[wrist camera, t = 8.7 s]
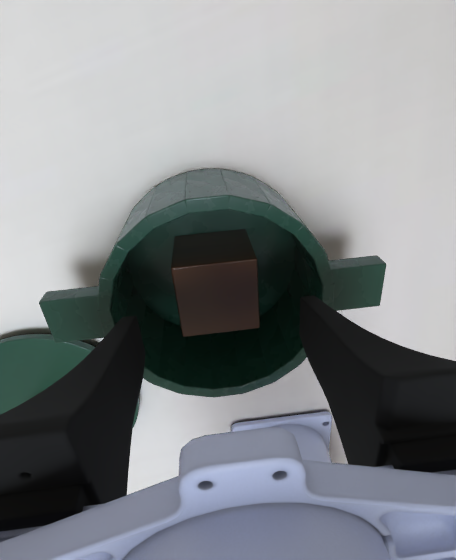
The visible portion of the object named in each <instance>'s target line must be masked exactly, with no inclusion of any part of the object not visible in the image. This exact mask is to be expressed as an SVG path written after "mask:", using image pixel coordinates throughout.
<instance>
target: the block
mask: <svg viewBox="0 0 456 560" xmlns="http://www.w3.org/2000/svg"><path fill="white" fill-rule="evenodd" d="M171 273H172V278H173V284H174V290H175V295H176V301H177V307H178V313H179V318H180V324H181V330H182V335H183V337H187V336H195V335H204V334H212V333H221V332H229V331H238V330H247V329H255V328H259V327H260V317H259V292H258V267H257V258H256V255H255V252H254V250H253V247H252V245H251V242H250V239H249V237H248V234H247V231H246V229H240V230H230V231H221V232H211V233H201V234H192V235H182V236H175V238H174V247H173V255H172V264H171Z"/></svg>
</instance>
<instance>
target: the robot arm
mask: <svg viewBox="0 0 456 560" xmlns="http://www.w3.org/2000/svg"><path fill="white" fill-rule="evenodd" d="M299 335H300V338H301V341H302V345H303V348H304V351H305V354H306V356H307V358H308V360H309V362H310V364H311V366H312V369H313V371H314V373H315V375H316V377H317V379H318V381H319V383H320V385H321V387H322V389H323V391H324V394H325V396H326V398H327V401H328V403H329V406H330V409H331V412H332V415H333V418H334V420H335V423H336V426H337V429H338V432H339V435H340V439H341V442H342V445H343V448H344V451H345V455H346V458H347V461H348V464H339V463H332V461H331V459H330V456H329V443H330V433H331V423H332V416H331V414H330V413H329V412H317V413H309V414H301V415H293V416H286V417H278V418H270V419H262V420H254V421H246V422H239V423H235V424H233V425H232V426H231V431H232V432H228V433H220V434H212V435H205V436H202V437H198V438H195V439H192V440H191V441H189V442H188V443H187V444H186V445H185V446H184V447H183V448H182V449H181V453H180V459H179V476H177V477H175V478H172V479H169V480H167V481H164V482H161V483H158V484H156V485H153V486H150V487H148V488H145V489H142V490H140V491H137V492H134V493H132V494H129V495H127V481H128V468H129V456H130V446H131V436H132V427H133V421H134V416H135V411H136V407H137V402H138V398H139V393H140V389H141V384H142V379H143V374H144V365H145V349H144V345H143V340H142V336H141V332H140V328H139V324H138V320H137V316H128V317H122V318H121V319H120V320H119V321H118V322H117V324H116V325H115V326H114V327H113V328H112V329H111V331H110V332H109V333H108V334H107V335H106V336H105V337H104V339H103V340H102V341H101V342H100V343H99V344H98V345H97V346H96V347H95V348H94V349H93V350H92V351H91V352H90V353H89V354H88V355H87V356H86V357H85V358H84V359H83V360H82V361H81V362H80V363H79V364H78V365H77V366H75V367H74V368H73V369H72V370H71V371H69V372H68V373H67V374H66V375H64V376H63V377H62V378H60V379H59V380H58V381H56V382H55V383H53V384H52V385H51V386H49V387H48V388H46V389H45V390H43V391H42V392H40V393H39V394H37V395H35V396H34V397H32V398H30V399H29V400H27V401H25V402H24V403H22V404H20V405H18V406H16V407H14V408H12V409H10V410H9V411H7V412H5V413H3V414H1V415H0V560H456V361H452V360H448V359H444V358H439V357H435V356H431V355H427V354H424V353H421V352H417V351H414V350H411V349H408V348H405V347H403V346H400V345H398V344H395V343H392V342H390V341H388V340H385V339H383V338H381V337H379V336H377V335H375V334H373V333H371V332H369V331H367V330H365V329H363V328H361V327H360V326H358V325H356V324H355V323H353V322H351V321H350V320H348V319H347V318H345V317H344V316H342V315H341V314H339V313H338V312H336V311H335V310H334V309H332V308H331V307H329V306H328V305H327V304H325V303H324V302H323V301H321V300H320V299H319V298H317V297H316V296H314V295H313V296H304V297H300V327H299Z"/></svg>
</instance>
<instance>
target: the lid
mask: <svg viewBox="0 0 456 560" xmlns="http://www.w3.org/2000/svg"><path fill="white" fill-rule="evenodd" d="M94 348H95V347H94V346H92V345H89V344H87V343H85V342H82V341H79V340H78V341H70V342H61V343H55V341H54V339H53V336H52V335H50V334H27V335H19V336H13V337H9V338H5V339H2V340H0V415H1V414H3V413H5V412H7V411H9V410H10V409H12V408H14V407H16V406H18V405H20V404H22V403H24V402H25V401H27V400H29V399H30V398H32V397H34V396H35V395H37V394H39V393H40V392H42V391H43V390H45V389H46V388H48V387H49V386H51V385H52V384H53V383H55V382H56V381H58V380H59V379H60V378H62V377H63V376H64V375H66V374H67V373H68V372H69V371H71V370H72V369H73V368H74V367H75V366H77V365H78V364H79V363H80V362H81V361H82V360H83V359H84V358H85V357H86V356H87V355H88V354H89V353H90V352H91V351H92V350H93V349H94ZM138 410H139V398H138V402H137V407H136V411H135V416H134V421H133V427H134V425H135V422H136V420H137V416H138ZM133 427H132V428H133Z"/></svg>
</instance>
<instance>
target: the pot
mask: <svg viewBox="0 0 456 560" xmlns="http://www.w3.org/2000/svg"><path fill="white" fill-rule="evenodd" d="M240 229H246V231H247V234H248V237H249V239H250V242H251V245H252V247H253V250H254V252H255V255H256V258H257V267H258V292H259V317H260V327H259V328H255V329H247V330H238V331H229V332H221V333H212V334H204V335H195V336H187V337H183V335H182V330H181V324H180V318H179V313H178V307H177V301H176V295H175V290H174V284H173V278H172V273H171V264H172V255H173V247H174V238H175V236H182V235H192V234H201V233H211V232H221V231H230V230H240ZM385 269H386V263H385V262H384V261H383V260H382V259H380V258H379V257H378V256H367V257H358V258H349V259H340V260H331V261H328V257H327V254H326V252H325V250H324V249H323V247H322V246H321V245H320V244H319V242H318V241H317V240H316V238H315V237H314V236H313V235H312V233H311V232H310V231H309V230H308V228H307V227H306V226H305V224H304V223H303V222H302V221H301V220H300V218H299V217H298V216H297V215H296V214H295V212H294V211H293V210H292V209H291V207H290V206H289V205H288V204H287V203H286V201H285V200H284V199H283V198H282V197H281V195H280V194H279V193H278V192H276V191H275V190H273V189H272V188H270V187H269V186H268V185H267V184H265V183H263V182H261V181H260V180H258V179H256V178H254V177H251V176H249V175H246V174H244V173H240V172H236V171H232V170H225V169H200V170H194V171H189V172H186V173H183V174H179V175H176V176H174V177H172V178H170V179H168V180H166V181H164V182H162V183H161V184H159V185H158V186H156V187H155V188H153V189H152V190H151V191H150V192H149V193H147V194H146V195H145V196H144V197H143V198H142V199H141V200H140V202H139V203H138V204H137V205H136V206H135V207H134V208H133V209H132V211H131V213H130V215H129V217H128V219H127V221H126V223H125V225H124V227H123V229H122V231H121V233H120V236H119V238H118V240H117V242H116V244H115V246H114V248H113V250H112V252H111V254H110V256H109V258H108V260H107V262H106V264H105V266H104V268H103V270H102V272H101V274H100V278H99V286H95V287H86V288H77V289H68V290H59V291H50V292H46V293H45V295H44V296H43V297H42V299H41V300H40V302H39V304H40V307H41V309H42V312H43V314H44V317H45V319H46V322H47V324H48V327H49V329H50V331H51V334H52V336H53V339H54V341H55V343H61V342H70V341H78V340H87V339H96V338H104V337H105V336H106V335H107V334H108V333H109V332H110V331H111V329H112V328H113V327H114V326H115V325H116V324H117V322H118V321H119V320H120V319H121V318H122V317H128V316H137V320H138V324H139V328H140V332H141V336H142V340H143V345H144V349H145V365H144V374H143V378H144V379H146V380H147V381H148V382H150V383H152V384H154V385H157V386H160V387H163V388H165V389H168V390H171V391H174V392H177V393H179V394H180V393H181V394H186V395H195V396H205V397H220V396H228V395H236V394H243V393H246V392H249V391H252V390H255V389H257V388H260V387H263V386H265V385H268V384H271V383H273V382H275V381H277V380H278V379H280V378H281V377H283V376H284V375H286V374H287V373H289V372H290V371H292V370H293V369H295V368H296V367H298V366H299V365H300V364H301V363H302V362H303V361H304V360H305V359H306V357H307V356H306V354H305V351H304V348H303V345H302V341H301V338H300V335H299V327H300V297H304V296H313V295H314V296H316V297H317V298H319V299H320V300H321V301H323V302H324V303H325V304H327V305H328V306H329V307H331V308H332V309H334V310H335V311H338V310H346V309H355V308H363V307H372V306H379V305H380V300H381V294H382V288H383V282H384V275H385Z"/></svg>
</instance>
